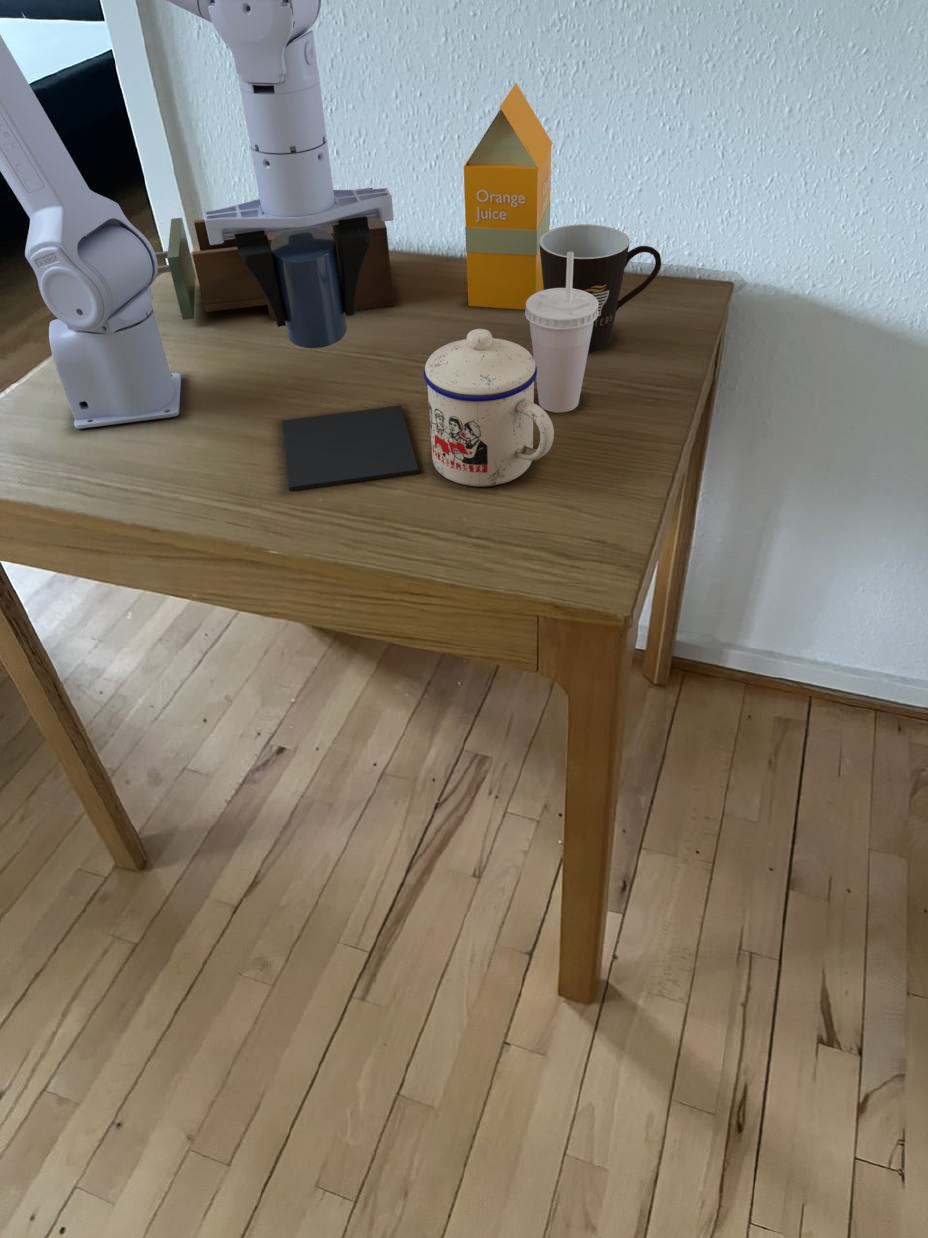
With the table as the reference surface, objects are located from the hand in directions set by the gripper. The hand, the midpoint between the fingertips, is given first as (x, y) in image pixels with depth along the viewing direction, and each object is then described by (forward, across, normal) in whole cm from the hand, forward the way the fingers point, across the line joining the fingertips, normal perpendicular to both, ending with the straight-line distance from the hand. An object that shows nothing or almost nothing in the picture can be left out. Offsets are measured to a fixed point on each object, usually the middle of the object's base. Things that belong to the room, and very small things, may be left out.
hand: (315, 315), depth 80 cm
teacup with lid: (+11, -12, +11) cm, 20 cm away
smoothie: (+11, -21, +3) cm, 24 cm away
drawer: (+9, +8, -30) cm, 33 cm away
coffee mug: (+11, -28, -8) cm, 31 cm away
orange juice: (+11, -24, -22) cm, 34 cm away
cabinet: (+10, -4, -30) cm, 32 cm away
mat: (+10, -1, +4) cm, 11 cm away
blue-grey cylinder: (+2, 0, -1) cm, 2 cm away
